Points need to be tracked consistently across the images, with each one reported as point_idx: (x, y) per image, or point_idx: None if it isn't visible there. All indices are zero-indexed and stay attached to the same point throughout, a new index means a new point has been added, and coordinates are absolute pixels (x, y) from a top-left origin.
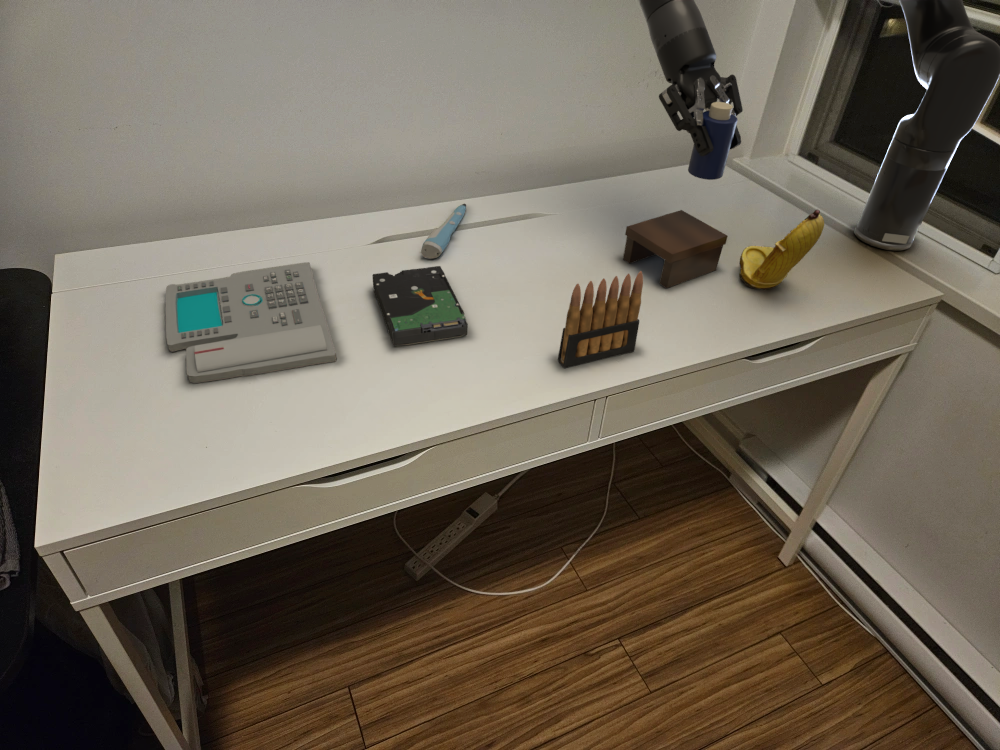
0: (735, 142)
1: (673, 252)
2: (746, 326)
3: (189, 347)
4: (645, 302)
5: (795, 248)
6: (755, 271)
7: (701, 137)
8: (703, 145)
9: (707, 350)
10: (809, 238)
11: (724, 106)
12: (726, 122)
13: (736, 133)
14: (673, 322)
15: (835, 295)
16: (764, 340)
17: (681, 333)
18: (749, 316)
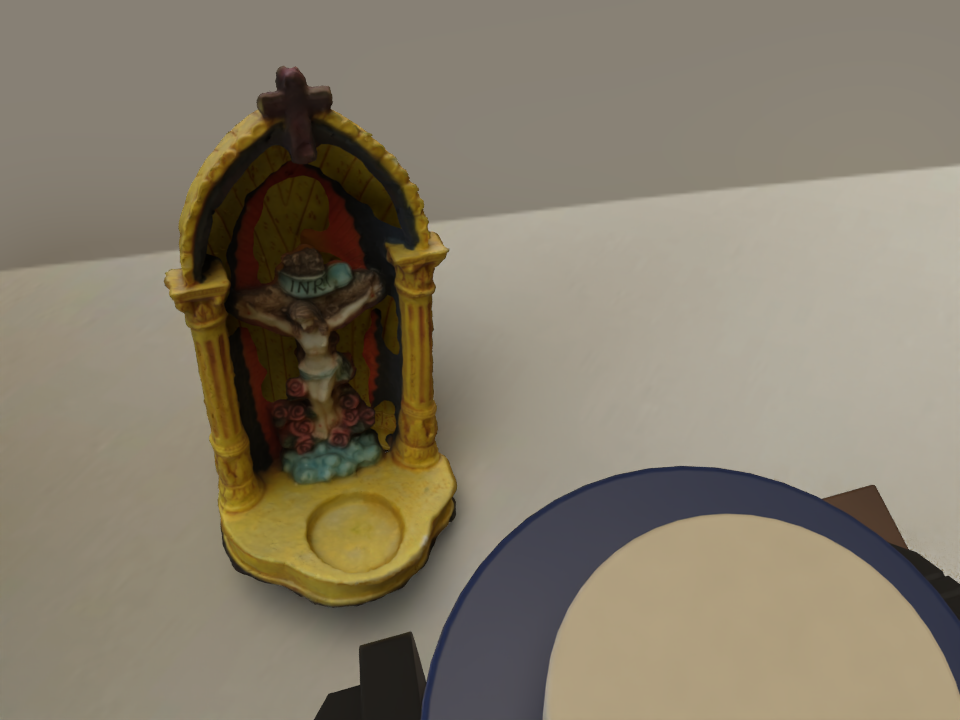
0: (419, 667)
1: (862, 498)
2: (599, 274)
3: None
4: (928, 479)
5: (385, 200)
6: (435, 432)
7: (955, 605)
8: (909, 552)
9: (793, 202)
10: (337, 147)
11: (734, 640)
12: (714, 487)
13: (393, 695)
14: (855, 344)
15: (145, 358)
16: (582, 206)
17: (848, 287)
18: (554, 318)
